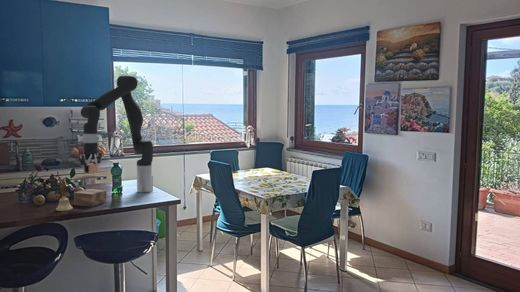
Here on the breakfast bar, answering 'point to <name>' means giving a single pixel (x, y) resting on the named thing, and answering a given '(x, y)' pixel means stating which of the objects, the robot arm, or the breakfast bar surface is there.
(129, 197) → the breakfast bar surface
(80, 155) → the robot arm
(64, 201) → the hand bell
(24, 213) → the breakfast bar surface
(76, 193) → the walnut block
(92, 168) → the terracotta cube
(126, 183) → the breakfast bar surface
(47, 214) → the breakfast bar surface
